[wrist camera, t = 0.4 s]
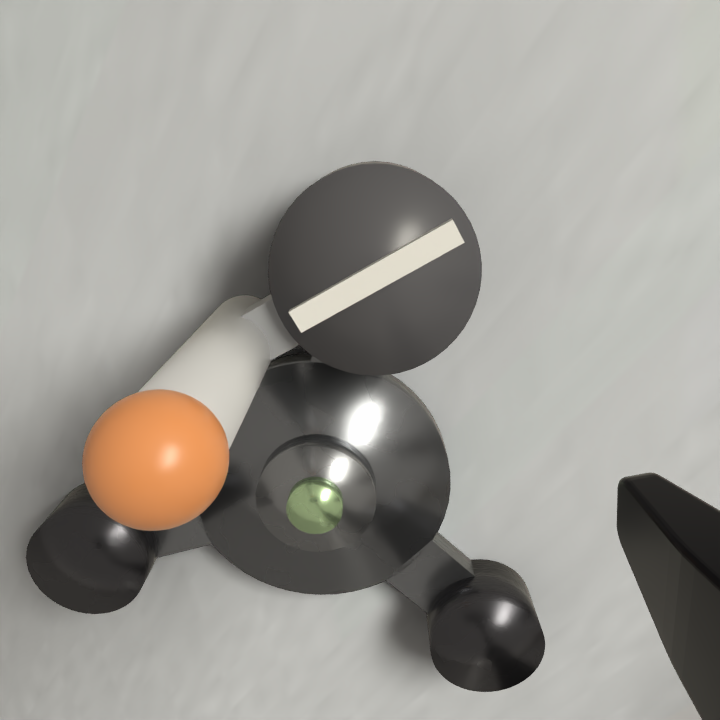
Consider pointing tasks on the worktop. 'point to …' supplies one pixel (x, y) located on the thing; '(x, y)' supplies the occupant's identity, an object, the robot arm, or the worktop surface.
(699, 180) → the worktop surface
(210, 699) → the worktop surface
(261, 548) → the tribrach
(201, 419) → the footscrew lever
